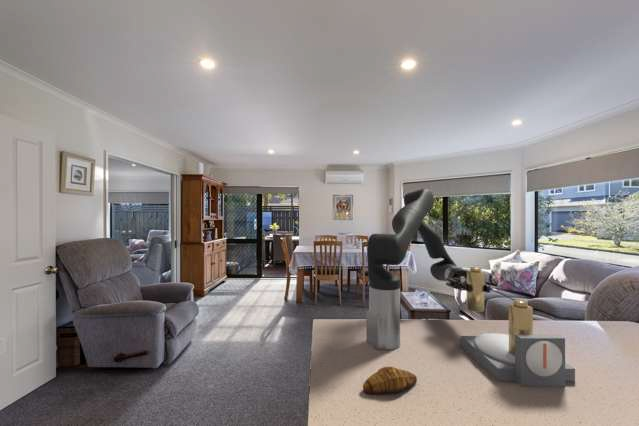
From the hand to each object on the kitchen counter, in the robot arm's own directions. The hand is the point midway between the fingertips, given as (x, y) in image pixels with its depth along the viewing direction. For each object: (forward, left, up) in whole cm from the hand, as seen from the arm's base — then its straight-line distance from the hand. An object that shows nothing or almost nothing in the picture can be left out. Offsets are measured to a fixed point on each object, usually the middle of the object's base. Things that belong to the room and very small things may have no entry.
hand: (479, 289), depth 90 cm
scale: (-5, -14, -16) cm, 22 cm away
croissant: (-41, -8, -16) cm, 45 cm away
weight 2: (-7, -16, -12) cm, 21 cm away
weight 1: (+1, +2, -7) cm, 7 cm away
